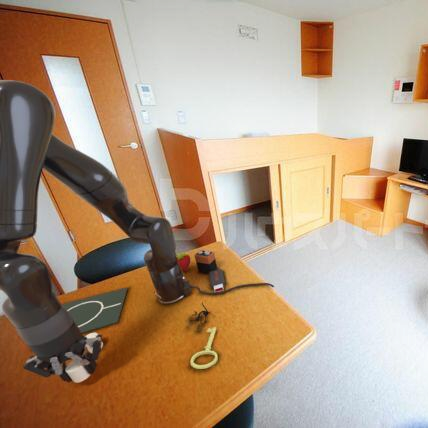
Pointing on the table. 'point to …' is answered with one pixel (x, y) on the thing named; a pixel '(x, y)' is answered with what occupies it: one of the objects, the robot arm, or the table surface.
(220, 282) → the usb drive
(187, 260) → the strawberry
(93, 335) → the eye puck
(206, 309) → the creature
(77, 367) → the eye puck
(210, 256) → the battery
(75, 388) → the table surface
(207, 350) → the key
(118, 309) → the chalkboard
